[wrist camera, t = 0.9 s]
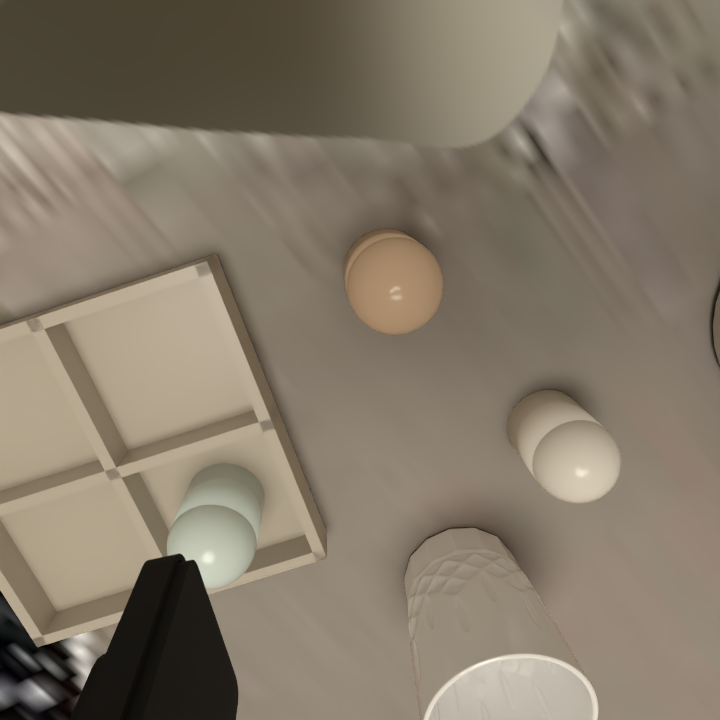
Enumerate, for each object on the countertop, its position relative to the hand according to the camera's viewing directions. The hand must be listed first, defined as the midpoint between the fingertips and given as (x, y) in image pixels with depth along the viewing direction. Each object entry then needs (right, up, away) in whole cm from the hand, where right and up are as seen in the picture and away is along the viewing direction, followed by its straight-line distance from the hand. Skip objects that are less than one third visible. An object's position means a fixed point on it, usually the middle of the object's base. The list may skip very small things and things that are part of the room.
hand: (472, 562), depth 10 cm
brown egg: (-1, +8, +19) cm, 20 cm away
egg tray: (-14, -1, +21) cm, 25 cm away
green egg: (-9, -4, +21) cm, 24 cm away
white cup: (+4, -9, +25) cm, 27 cm away
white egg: (+8, 0, +22) cm, 23 cm away
